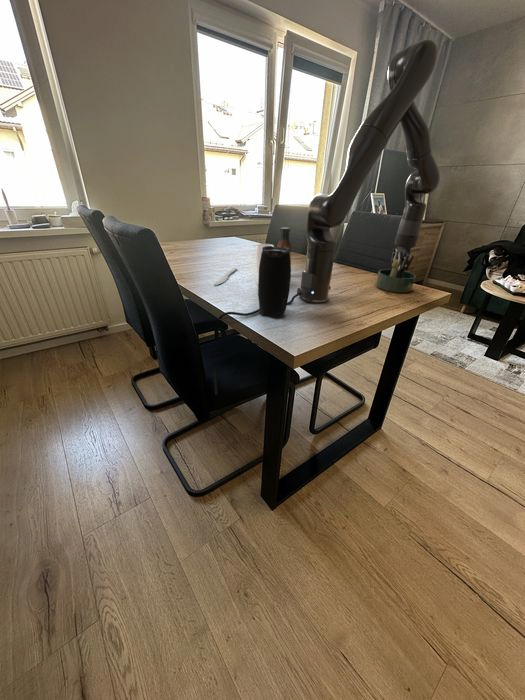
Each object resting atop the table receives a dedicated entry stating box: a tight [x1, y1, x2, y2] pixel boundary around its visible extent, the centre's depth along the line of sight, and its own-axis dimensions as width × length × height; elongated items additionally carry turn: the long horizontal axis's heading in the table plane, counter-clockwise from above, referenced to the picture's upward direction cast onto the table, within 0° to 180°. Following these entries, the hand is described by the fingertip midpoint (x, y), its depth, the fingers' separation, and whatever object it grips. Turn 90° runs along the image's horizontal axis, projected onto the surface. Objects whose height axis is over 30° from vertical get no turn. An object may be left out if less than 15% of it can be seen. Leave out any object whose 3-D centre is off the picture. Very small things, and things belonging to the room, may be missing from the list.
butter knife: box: [214, 267, 237, 286], centre depth 121 cm, size 1×27×3 cm
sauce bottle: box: [276, 227, 293, 263], centre depth 121 cm, size 7×6×20 cm
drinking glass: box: [255, 243, 275, 284], centre depth 111 cm, size 7×7×15 cm
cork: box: [390, 259, 403, 278], centre depth 114 cm, size 6×6×11 cm
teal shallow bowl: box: [375, 268, 417, 294], centre depth 115 cm, size 14×14×6 cm
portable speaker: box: [257, 246, 292, 319], centre depth 83 cm, size 9×9×20 cm
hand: (395, 277), depth 114 cm, fingers closed on cork, 4 cm apart
